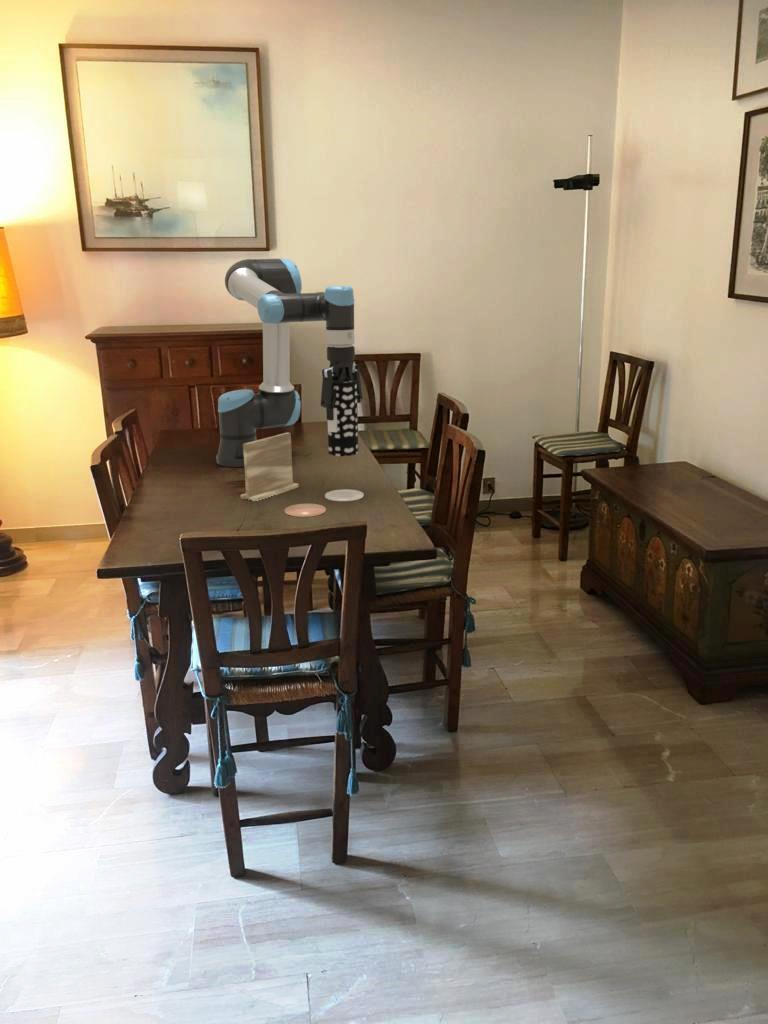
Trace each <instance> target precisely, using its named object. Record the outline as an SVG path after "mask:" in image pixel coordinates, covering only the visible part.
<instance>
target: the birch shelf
mask: <svg viewBox="0 0 768 1024" xmlns="http://www.w3.org/2000/svg"><path fill="white" fill-rule="evenodd" d="M291 436H292V434H291V432H284V433H283V432H282V433H280V434H276V435H273V436H268V437H264V438H261V439H257V440H256V441H252V442H248V443H244V444H243V451H244V481H245V483H244V484H245V493H242V494H240V499H243V500H246V499H248V500H247V501H250V500H252V502H255V501H257V502H260V501H263V500H265V498H266V499H269V498H271V496H272V497H274V495H275V496H277V495H280V494H283V493H286V492H289V491H292V490H294V489H297V488H300V485H299V483H295V482H294V479H293V477H294V476H293V458H292V457H293V456H292V437H291ZM268 497H269V498H268ZM262 499H263V500H262ZM259 500H260V501H259Z"/></svg>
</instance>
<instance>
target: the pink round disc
mask: <svg viewBox="0 0 768 1024" xmlns="http://www.w3.org/2000/svg"><path fill="white" fill-rule="evenodd" d="M326 512H327V508H326V507H325V506H324V505H321V504H317V503H297V504H293V505H290V506H287V507H286V508H285V509H284V514H286V515H288V516H289V515H290V517H295V518H311V517H312V518H313V517H317V516H321V515H323V514H325V513H326Z"/></svg>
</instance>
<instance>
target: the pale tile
mask: <svg viewBox="0 0 768 1024" xmlns="http://www.w3.org/2000/svg"><path fill="white" fill-rule="evenodd" d="M364 495H365V494H364V493H363V492H362V491H360V490H357V489H349V488H348V489H346V488H345V489H334V490H331V491H328V492H327V491H326V493H325V494H324V497H325V499H326V500H328V501H333V502H341V503H342V502H345V503H346V502H353V501H359V500H360V499H363V498H364V497H365V496H364Z"/></svg>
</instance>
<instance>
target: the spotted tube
mask: <svg viewBox="0 0 768 1024" xmlns="http://www.w3.org/2000/svg"><path fill="white" fill-rule="evenodd" d="M334 389H336V403H335V407H334V408H337V432H329V431H328V430H327V445H328V446H327V447H328V448H327V449H328V452H327V453H328V455H330V456H334V457H350V456H356V455H357V454H359V425H358V424H359V415H358V411H359V409H358V403H357V395H358V394H357V380H352V381H350V380H343V381H342V383H333V382H332V390H334Z"/></svg>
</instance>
